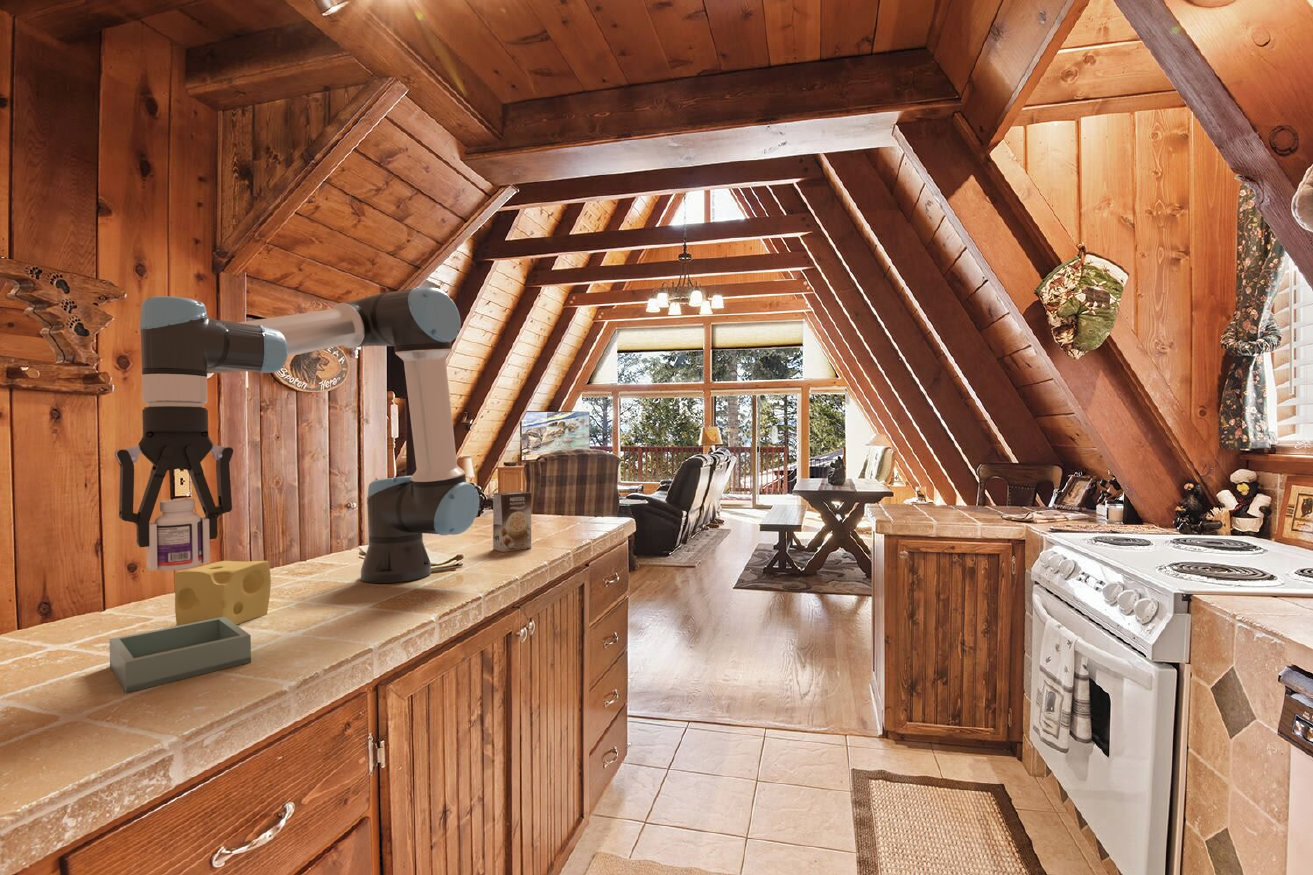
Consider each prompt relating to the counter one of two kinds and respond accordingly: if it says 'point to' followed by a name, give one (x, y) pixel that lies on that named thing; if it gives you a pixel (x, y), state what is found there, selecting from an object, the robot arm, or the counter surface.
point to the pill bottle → (178, 536)
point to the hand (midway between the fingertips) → (179, 565)
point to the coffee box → (511, 521)
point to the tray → (178, 653)
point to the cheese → (222, 592)
